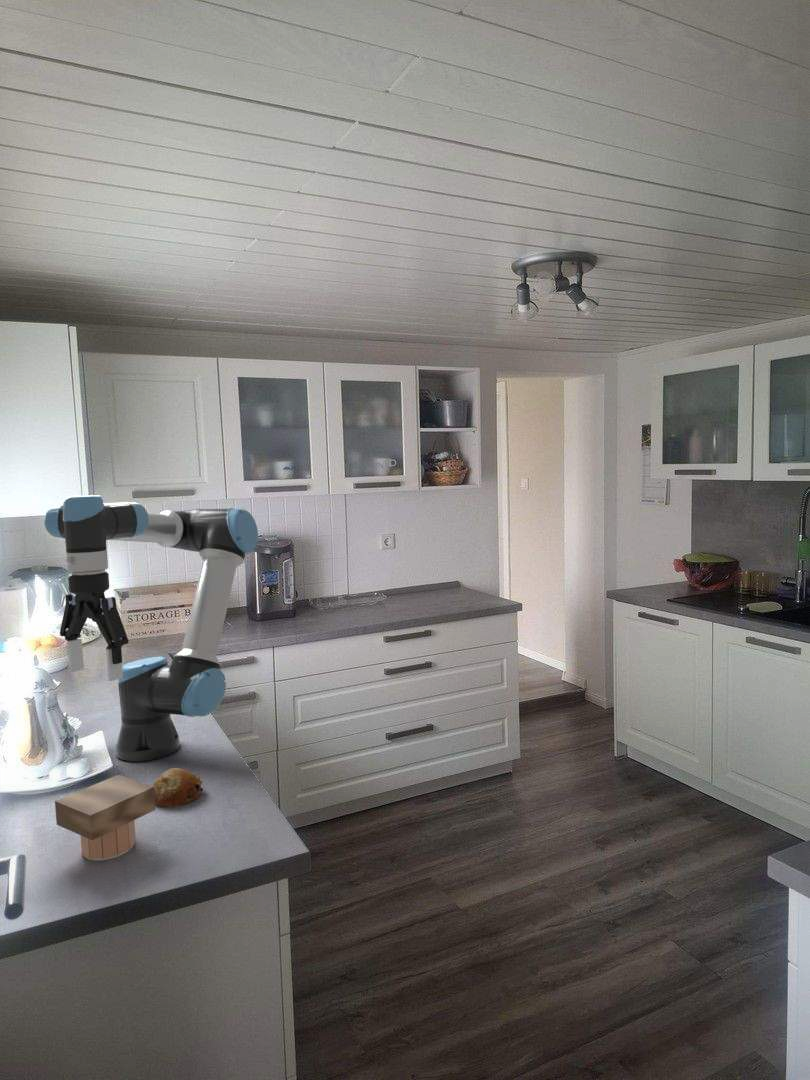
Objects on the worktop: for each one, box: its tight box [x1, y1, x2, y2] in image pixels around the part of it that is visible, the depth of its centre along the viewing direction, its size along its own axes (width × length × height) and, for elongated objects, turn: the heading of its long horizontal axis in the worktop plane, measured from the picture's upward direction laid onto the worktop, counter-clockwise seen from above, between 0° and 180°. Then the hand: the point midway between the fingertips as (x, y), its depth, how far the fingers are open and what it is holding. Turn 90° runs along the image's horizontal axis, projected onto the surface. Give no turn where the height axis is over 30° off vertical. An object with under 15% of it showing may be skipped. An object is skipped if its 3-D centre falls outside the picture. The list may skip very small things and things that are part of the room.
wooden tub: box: [80, 820, 137, 862], centre depth 133 cm, size 9×9×6 cm
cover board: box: [54, 774, 156, 840], centre depth 132 cm, size 13×11×4 cm
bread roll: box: [152, 767, 204, 808], centre depth 154 cm, size 10×10×8 cm
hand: (95, 674), depth 146 cm, fingers open, 13 cm apart
